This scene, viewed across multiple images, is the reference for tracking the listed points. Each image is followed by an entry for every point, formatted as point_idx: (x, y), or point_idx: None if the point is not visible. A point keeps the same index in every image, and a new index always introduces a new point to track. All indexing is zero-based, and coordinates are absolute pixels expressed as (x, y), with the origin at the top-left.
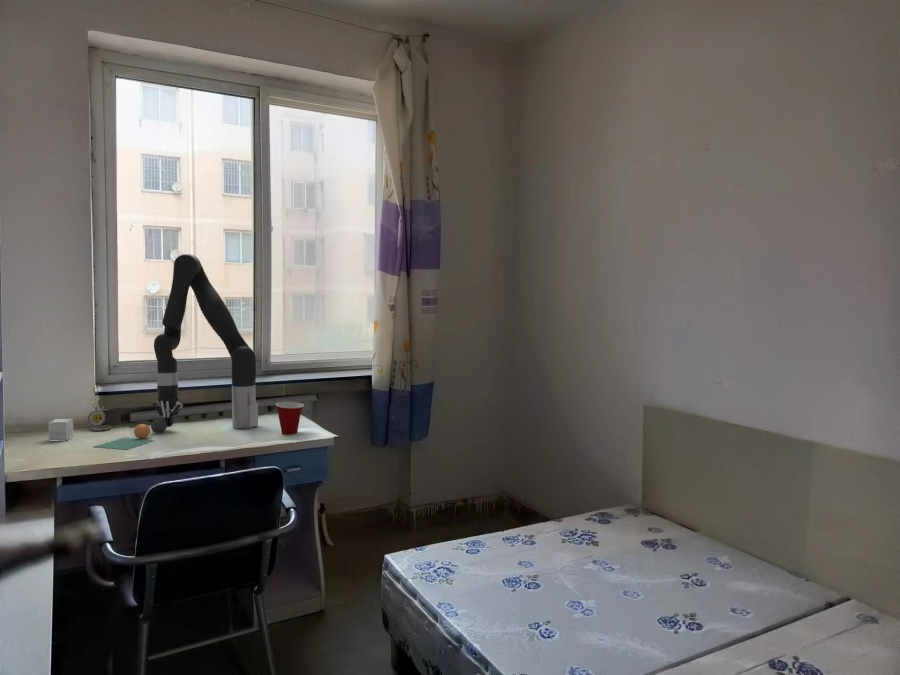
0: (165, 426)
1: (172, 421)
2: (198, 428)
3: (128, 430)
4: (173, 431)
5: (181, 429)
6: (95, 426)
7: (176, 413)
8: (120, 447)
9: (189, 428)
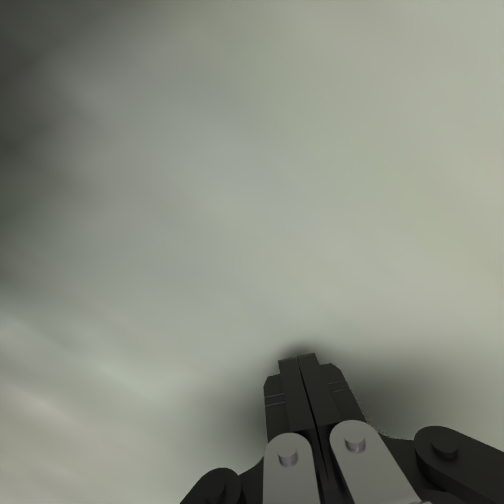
0: None
1: (351, 394)
2: (489, 172)
3: (22, 496)
4: (366, 364)
5: (369, 281)
6: None
7: (477, 470)
8: None
9: (406, 216)
